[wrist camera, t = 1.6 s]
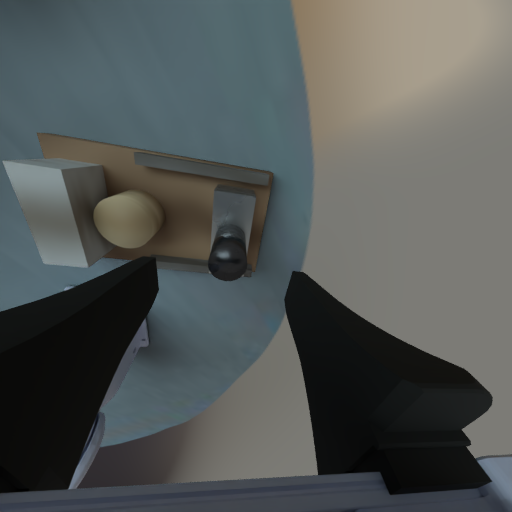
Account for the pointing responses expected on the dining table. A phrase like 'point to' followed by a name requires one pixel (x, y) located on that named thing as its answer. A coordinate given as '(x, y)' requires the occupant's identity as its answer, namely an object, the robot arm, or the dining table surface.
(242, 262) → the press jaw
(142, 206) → the potato
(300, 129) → the dining table surface
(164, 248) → the base
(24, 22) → the dining table surface
